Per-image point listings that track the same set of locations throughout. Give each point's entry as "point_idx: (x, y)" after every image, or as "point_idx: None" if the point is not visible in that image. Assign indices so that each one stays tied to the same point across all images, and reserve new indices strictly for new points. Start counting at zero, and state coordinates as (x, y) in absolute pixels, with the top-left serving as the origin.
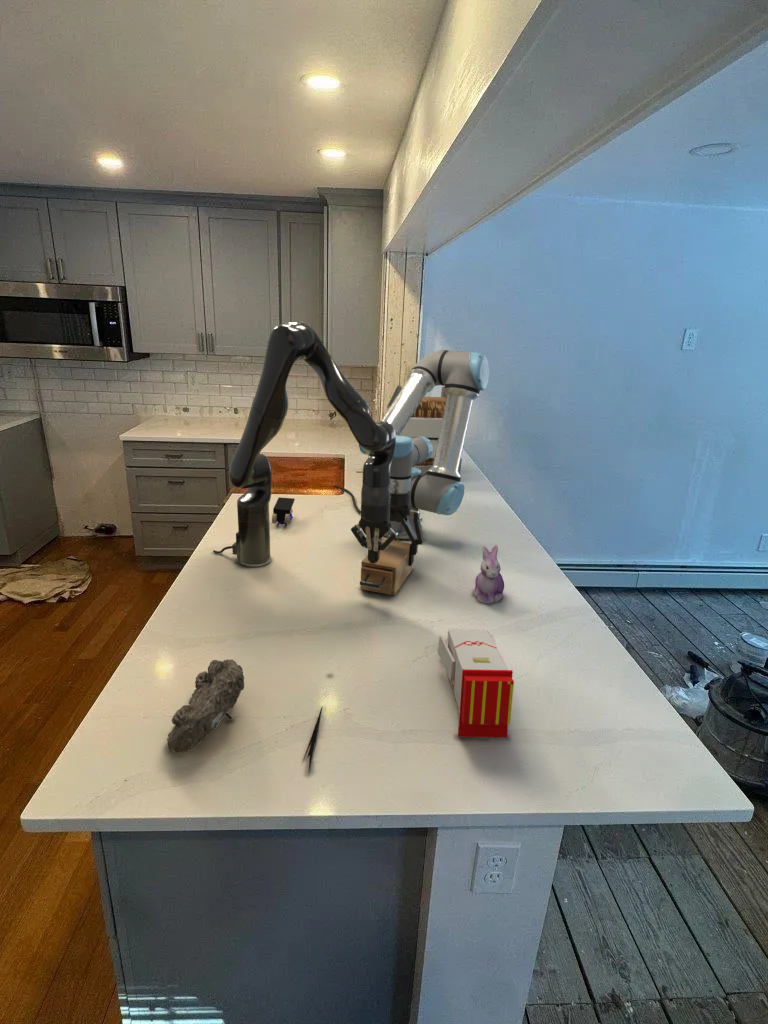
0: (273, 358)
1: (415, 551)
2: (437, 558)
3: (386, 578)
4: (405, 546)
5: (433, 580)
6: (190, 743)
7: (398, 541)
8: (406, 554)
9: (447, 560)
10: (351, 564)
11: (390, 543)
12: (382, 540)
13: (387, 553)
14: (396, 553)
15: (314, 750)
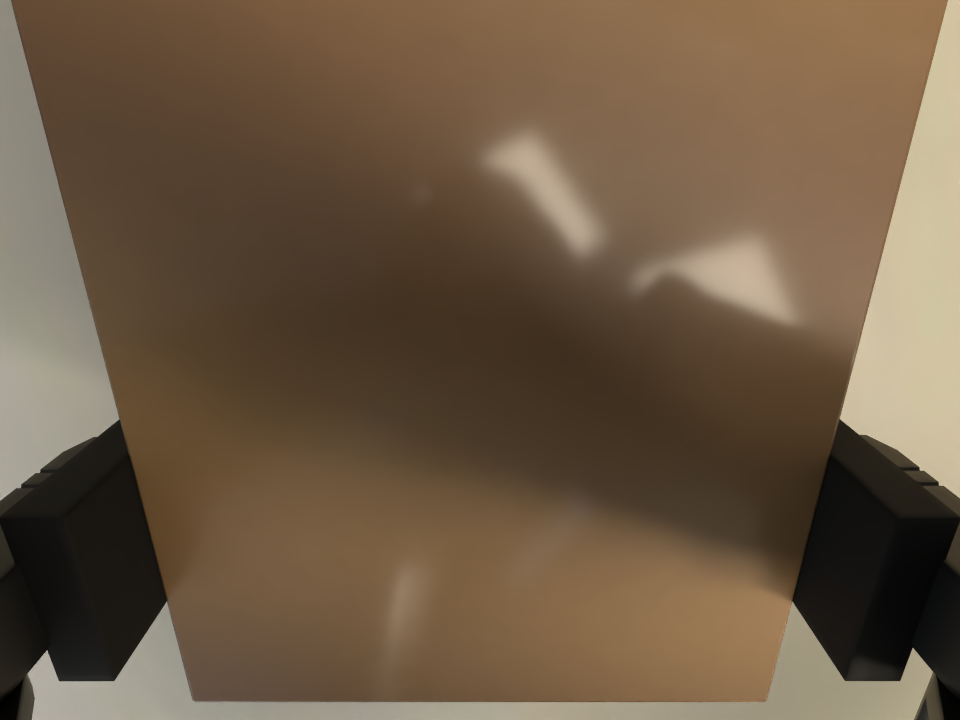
0: None
1: (42, 475)
2: (210, 702)
3: None
4: (270, 564)
5: (20, 302)
6: None
7: (469, 694)
8: (81, 236)
9: (122, 698)
10: (949, 320)
11: (580, 582)
12: (754, 639)
13: (490, 55)
14: (286, 160)
15: None
